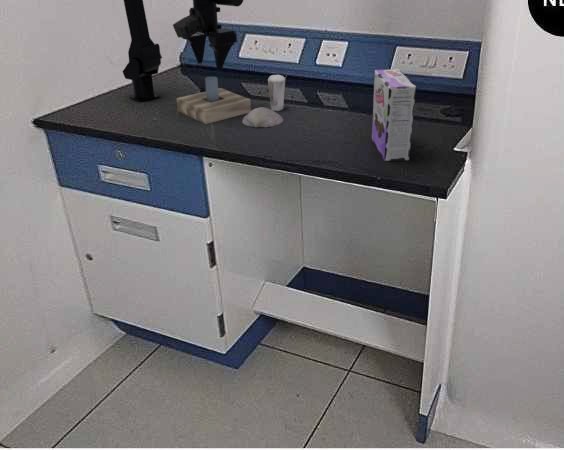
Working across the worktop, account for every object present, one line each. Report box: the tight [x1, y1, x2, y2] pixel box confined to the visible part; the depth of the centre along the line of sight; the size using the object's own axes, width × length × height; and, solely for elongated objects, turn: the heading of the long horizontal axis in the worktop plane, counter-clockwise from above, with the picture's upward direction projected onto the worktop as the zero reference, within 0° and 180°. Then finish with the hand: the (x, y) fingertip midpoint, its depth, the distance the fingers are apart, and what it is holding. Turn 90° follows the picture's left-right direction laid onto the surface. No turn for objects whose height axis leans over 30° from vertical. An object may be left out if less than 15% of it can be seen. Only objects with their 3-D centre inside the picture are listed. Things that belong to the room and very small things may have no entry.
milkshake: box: [267, 72, 289, 112], centre depth 165 cm, size 4×5×10 cm
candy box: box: [371, 68, 417, 162], centre depth 137 cm, size 14×6×16 cm, turn 5°
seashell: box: [242, 107, 284, 128], centre depth 158 cm, size 10×6×10 cm
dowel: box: [204, 76, 219, 103], centre depth 165 cm, size 3×3×9 cm
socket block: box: [176, 87, 252, 125], centre depth 166 cm, size 14×14×4 cm
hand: (209, 66), depth 162 cm, fingers open, 9 cm apart
